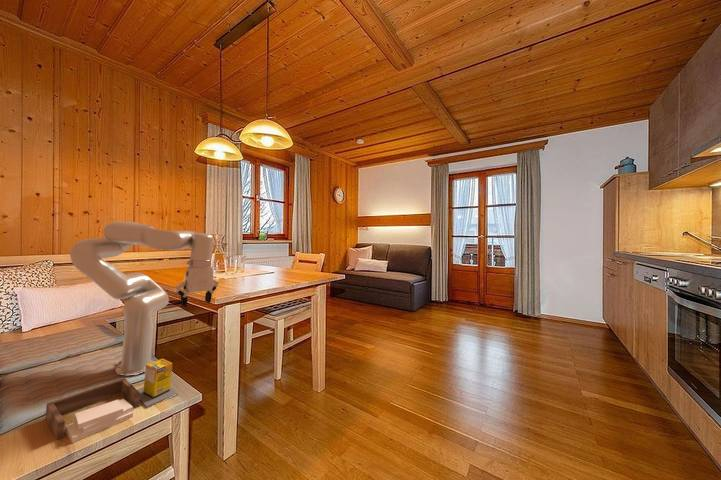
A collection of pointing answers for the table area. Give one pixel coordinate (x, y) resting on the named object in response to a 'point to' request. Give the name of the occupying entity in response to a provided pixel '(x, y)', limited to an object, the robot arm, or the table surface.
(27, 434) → the table surface
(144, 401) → the rubber mat
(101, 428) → the offcut stack
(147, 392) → the supplement box
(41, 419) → the table surface
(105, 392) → the brown wooden tray
